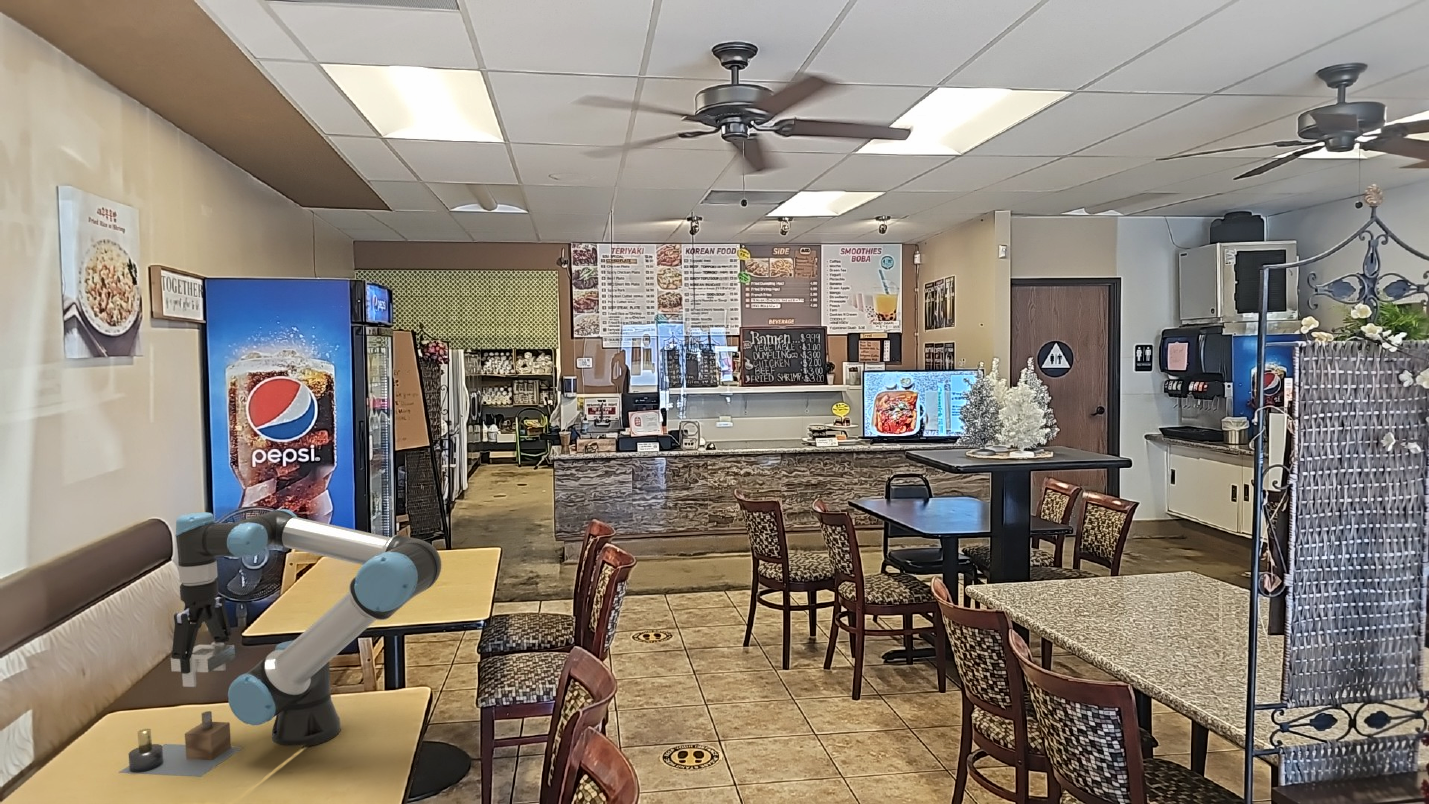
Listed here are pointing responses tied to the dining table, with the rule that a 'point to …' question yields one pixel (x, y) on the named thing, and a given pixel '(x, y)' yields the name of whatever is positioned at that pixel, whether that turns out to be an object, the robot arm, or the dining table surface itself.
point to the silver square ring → (208, 657)
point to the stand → (207, 739)
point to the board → (184, 762)
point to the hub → (145, 754)
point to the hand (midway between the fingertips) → (204, 677)
